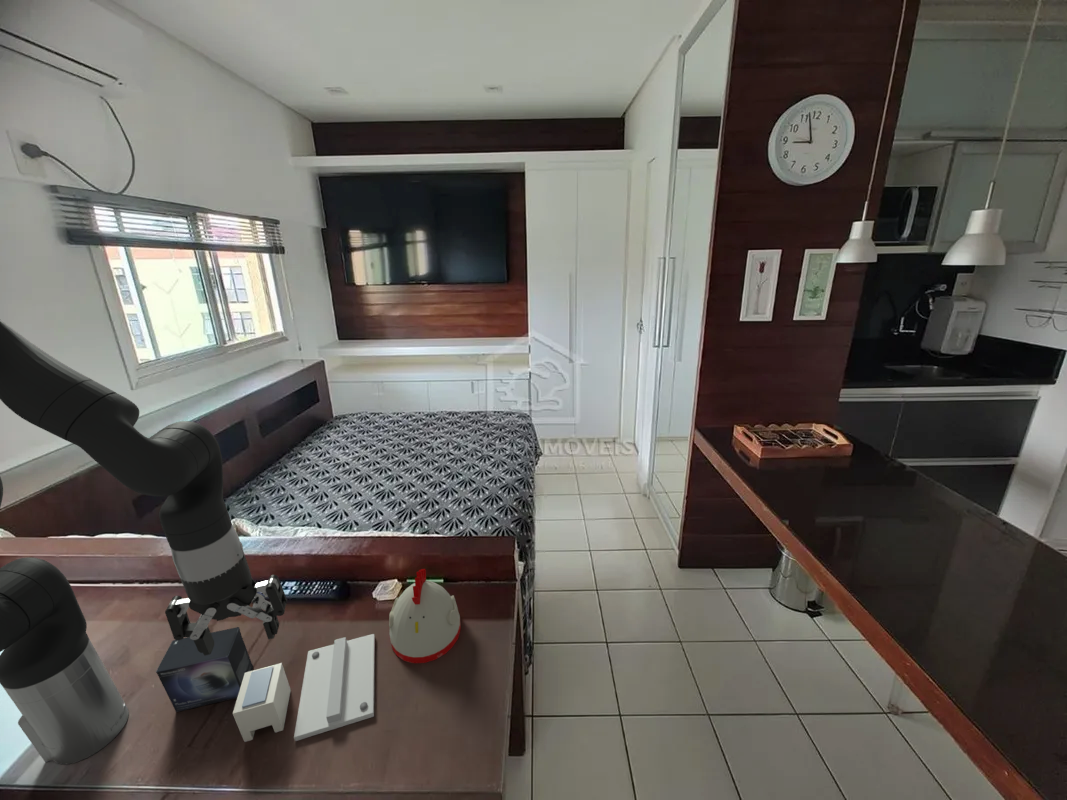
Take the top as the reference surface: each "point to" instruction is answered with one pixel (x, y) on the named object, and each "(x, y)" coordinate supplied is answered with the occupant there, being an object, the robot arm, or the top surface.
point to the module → (262, 700)
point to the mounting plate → (322, 684)
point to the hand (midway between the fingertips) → (242, 642)
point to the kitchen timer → (423, 621)
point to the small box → (204, 670)
